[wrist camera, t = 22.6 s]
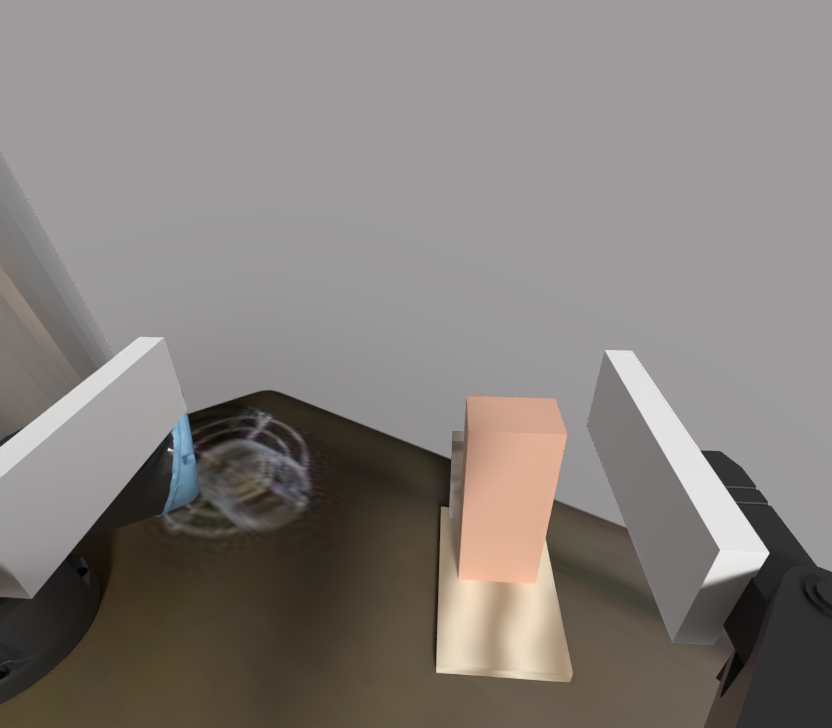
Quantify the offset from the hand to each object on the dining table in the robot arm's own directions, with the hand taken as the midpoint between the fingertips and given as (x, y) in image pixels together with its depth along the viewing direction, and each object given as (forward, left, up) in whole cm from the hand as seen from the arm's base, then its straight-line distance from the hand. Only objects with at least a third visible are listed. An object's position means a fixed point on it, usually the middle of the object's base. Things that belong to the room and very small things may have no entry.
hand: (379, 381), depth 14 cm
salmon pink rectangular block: (+8, +21, -37) cm, 43 cm away
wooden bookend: (+8, +19, -38) cm, 43 cm away
